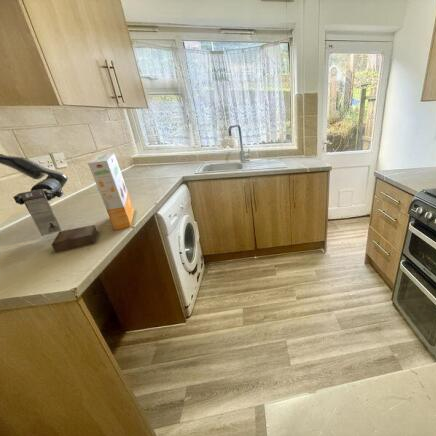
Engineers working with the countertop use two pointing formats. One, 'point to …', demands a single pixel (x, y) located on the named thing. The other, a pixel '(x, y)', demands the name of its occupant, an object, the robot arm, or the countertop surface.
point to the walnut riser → (75, 238)
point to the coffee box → (41, 211)
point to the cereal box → (112, 189)
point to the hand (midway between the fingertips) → (34, 200)
